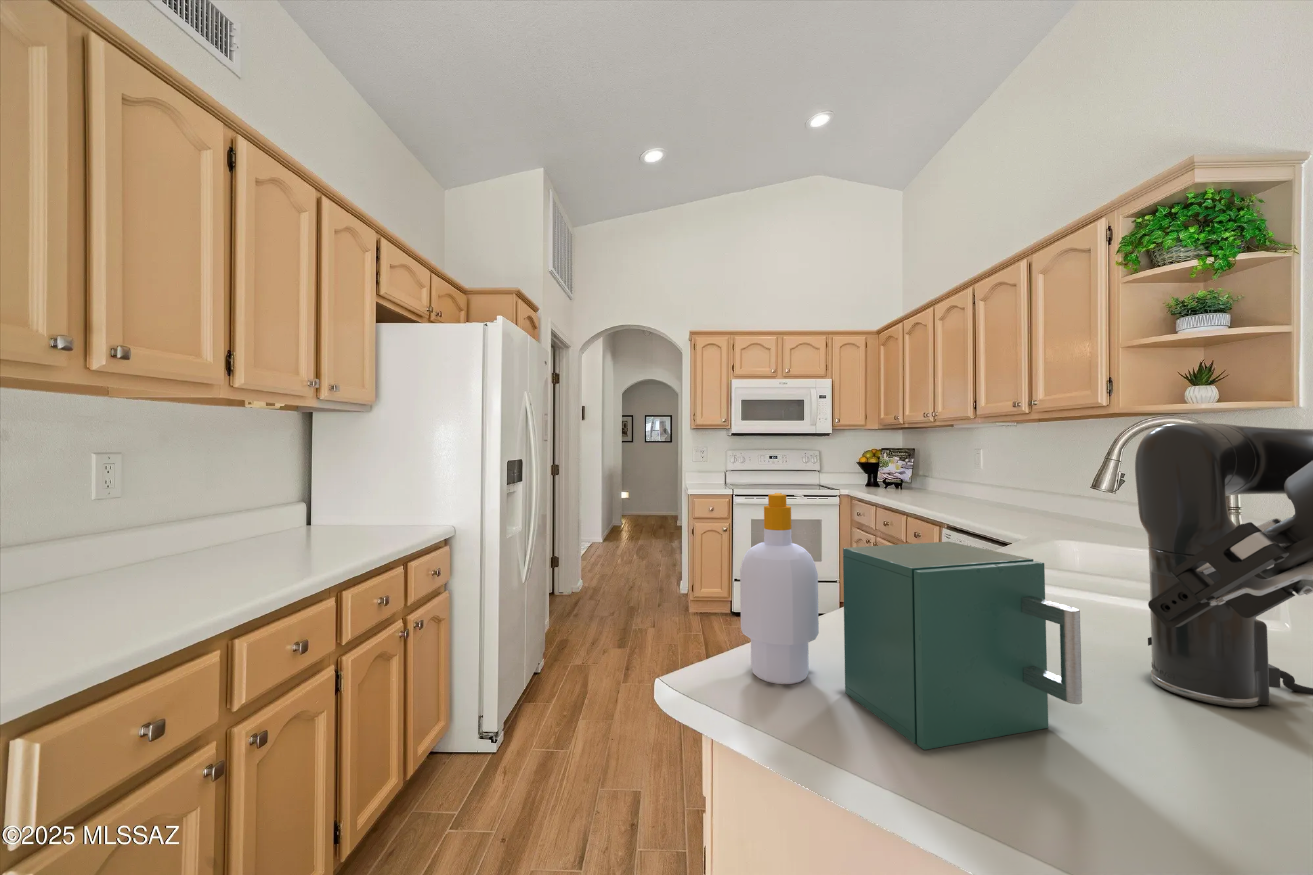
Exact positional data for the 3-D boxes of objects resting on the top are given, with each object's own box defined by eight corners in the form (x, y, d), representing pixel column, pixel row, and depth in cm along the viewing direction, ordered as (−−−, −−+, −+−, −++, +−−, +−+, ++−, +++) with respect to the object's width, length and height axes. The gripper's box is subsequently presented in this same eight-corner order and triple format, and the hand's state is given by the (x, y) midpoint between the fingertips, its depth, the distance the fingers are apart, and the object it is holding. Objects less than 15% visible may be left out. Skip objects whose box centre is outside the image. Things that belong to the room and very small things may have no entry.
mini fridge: (1037, 723, 58) (1033, 559, 59) (914, 745, 54) (911, 568, 55) (951, 678, 70) (948, 541, 70) (844, 693, 66) (842, 547, 66)
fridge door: (1101, 755, 52) (1096, 573, 52) (967, 782, 48) (963, 585, 48) (1039, 723, 58) (1035, 560, 59) (916, 744, 54) (913, 570, 55)
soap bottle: (818, 663, 75) (815, 492, 76) (820, 695, 65) (817, 498, 66) (745, 656, 78) (743, 491, 79) (736, 686, 68) (734, 497, 69)
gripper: (1434, 529, 27) (1175, 668, 38) (1580, 519, 31) (1306, 648, 42) (1286, 431, 33) (1095, 577, 43) (1425, 431, 36) (1217, 566, 47)
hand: (1198, 611), depth 43 cm, fingers open, 8 cm apart
